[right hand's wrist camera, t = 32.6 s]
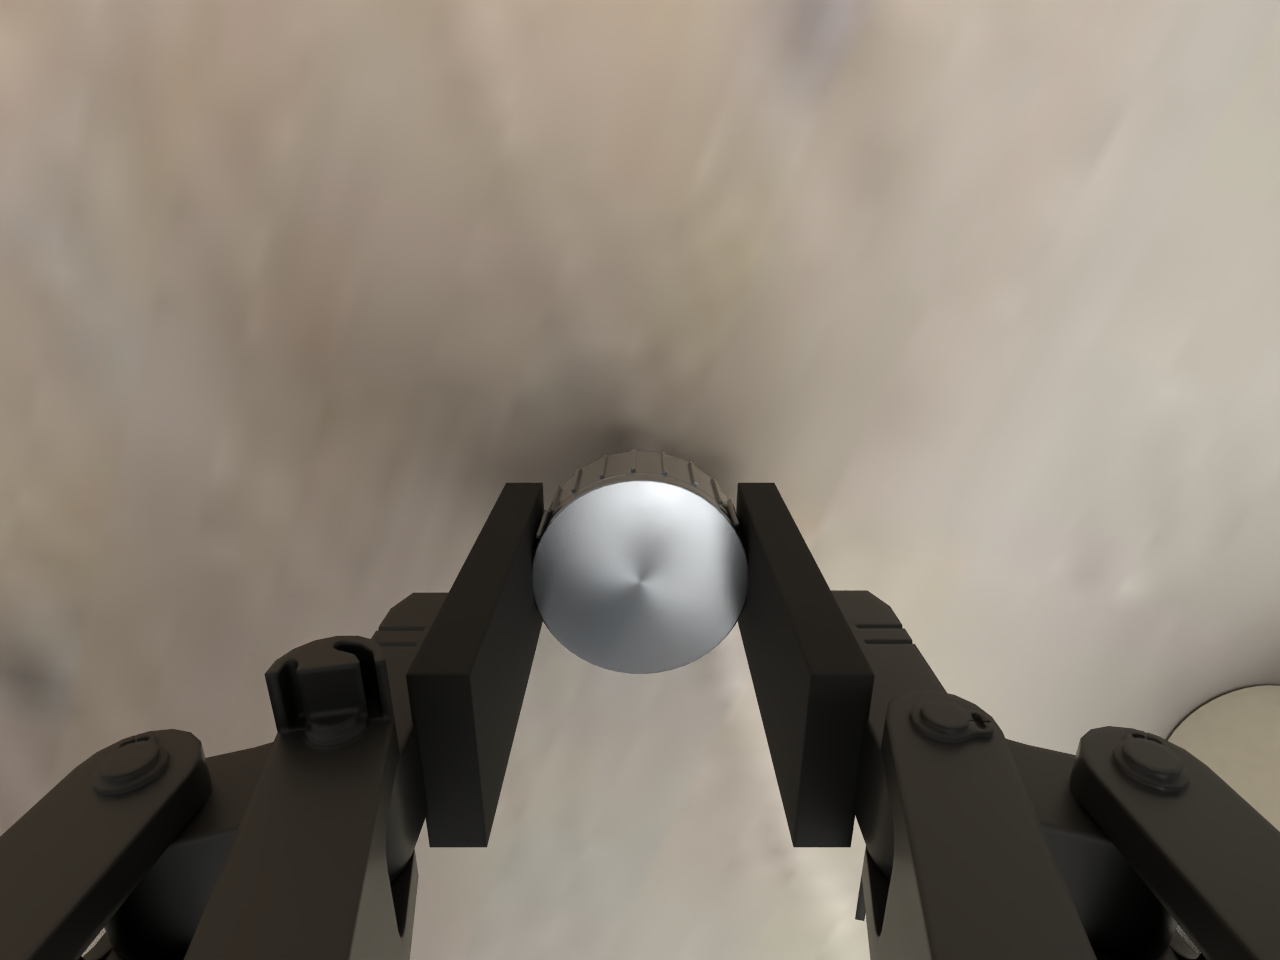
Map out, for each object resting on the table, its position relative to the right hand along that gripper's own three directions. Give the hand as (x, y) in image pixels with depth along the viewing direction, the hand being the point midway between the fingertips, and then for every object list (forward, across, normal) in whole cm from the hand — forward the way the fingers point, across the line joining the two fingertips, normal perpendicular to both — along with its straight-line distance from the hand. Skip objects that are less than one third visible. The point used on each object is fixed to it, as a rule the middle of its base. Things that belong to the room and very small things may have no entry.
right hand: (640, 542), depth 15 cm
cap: (-1, 0, 0) cm, 1 cm away
